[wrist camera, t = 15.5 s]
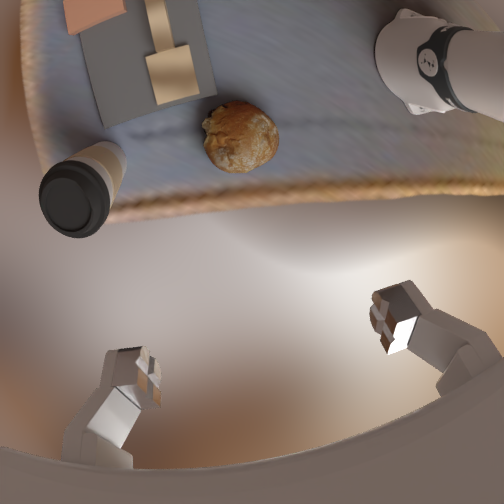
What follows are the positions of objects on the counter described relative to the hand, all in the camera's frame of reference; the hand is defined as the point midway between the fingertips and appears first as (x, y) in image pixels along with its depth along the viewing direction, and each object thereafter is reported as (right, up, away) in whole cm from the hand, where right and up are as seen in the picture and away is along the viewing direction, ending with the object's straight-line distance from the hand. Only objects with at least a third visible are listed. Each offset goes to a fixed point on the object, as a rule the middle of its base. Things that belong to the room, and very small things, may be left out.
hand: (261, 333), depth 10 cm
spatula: (-12, +32, +17) cm, 38 cm away
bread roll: (-2, +19, +29) cm, 35 cm away
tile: (-17, +35, +12) cm, 41 cm away
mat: (-15, +31, +18) cm, 39 cm away
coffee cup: (-22, +16, +27) cm, 38 cm away
